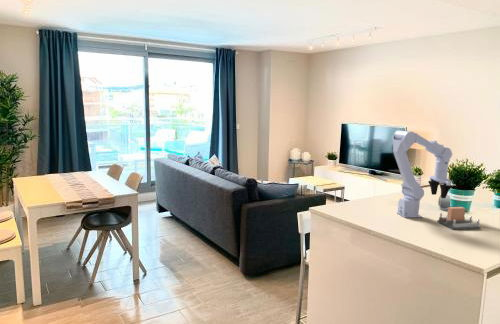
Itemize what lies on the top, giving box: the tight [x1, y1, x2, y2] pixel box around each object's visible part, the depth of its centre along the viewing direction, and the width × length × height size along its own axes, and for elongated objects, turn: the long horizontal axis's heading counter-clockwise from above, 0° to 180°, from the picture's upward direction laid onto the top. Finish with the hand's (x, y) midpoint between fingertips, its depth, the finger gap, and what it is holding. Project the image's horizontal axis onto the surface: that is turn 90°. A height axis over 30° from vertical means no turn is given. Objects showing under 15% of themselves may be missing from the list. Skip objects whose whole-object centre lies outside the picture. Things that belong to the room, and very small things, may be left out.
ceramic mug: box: [437, 194, 451, 212], centre depth 206 cm, size 11×8×8 cm
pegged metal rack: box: [436, 213, 481, 231], centre depth 178 cm, size 14×11×4 cm
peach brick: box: [446, 206, 466, 220], centre depth 180 cm, size 7×2×7 cm, turn 99°
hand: (438, 196), depth 195 cm, fingers open, 7 cm apart
